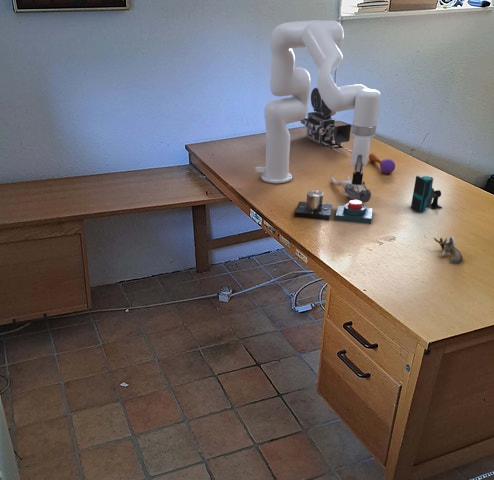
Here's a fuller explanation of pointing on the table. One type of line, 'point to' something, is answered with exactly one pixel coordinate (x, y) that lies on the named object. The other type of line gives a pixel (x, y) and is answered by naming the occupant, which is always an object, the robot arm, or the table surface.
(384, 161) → the purple maraca
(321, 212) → the dial panel
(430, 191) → the surveillance camera
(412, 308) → the table surface
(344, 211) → the button box
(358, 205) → the red button
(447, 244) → the antlered animal figurine
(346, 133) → the film camera
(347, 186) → the anime figure
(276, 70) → the robot arm
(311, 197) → the dial
